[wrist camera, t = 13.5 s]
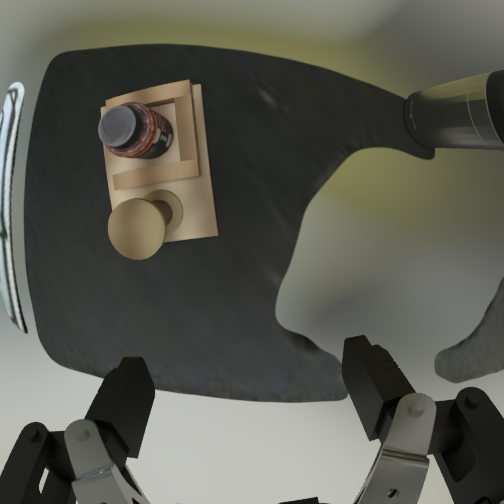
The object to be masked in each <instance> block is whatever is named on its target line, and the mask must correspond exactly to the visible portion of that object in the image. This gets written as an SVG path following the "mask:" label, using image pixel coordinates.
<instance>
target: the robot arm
mask: <svg viewBox="0 0 504 504" xmlns="http://www.w3.org/2000/svg"><path fill="white" fill-rule="evenodd" d="M404 118H405V123H406V126H407V128H408V130H409V132H410V134H411V135H412V137H413V138H414V139H415V140H416V141H417V142H418V143H419V144H421V145H422V146H424V147H427V148H460V149H461V148H462V149H483V150H499V151H504V70H500V71H495V72H491V73H486V74H482V75H477V76H473V77H469V78H464V79H460V80H456V81H453V82H449V83H445V84H441V85H438V86H434V87H431V88H427V89H424V90H421V91H418V92H415V93H412V94H411V95H410V96H409V97H408V98H407V100H406V102H405V106H404ZM342 377H343V381H344V383H345V386H346V388H347V390H348V392H349V395H350V397H351V399H352V402H353V404H354V406H355V409H356V411H357V413H358V415H359V418H360V420H361V423H362V425H363V427H364V430H365V432H366V434H367V437H368V439H369V441H372V440H375V439H379V440H380V442H381V446H380V448H379V451H378V453H377V456H376V458H375V461H374V463H373V465H372V467H371V469H370V472H369V474H368V476H367V478H366V480H365V482H364V484H363V486H362V488H361V490H360V492H359V494H358V495H357V497H356V499H355V501H354V503H353V504H417V502H418V499H419V497H420V493H421V491H422V488H423V484H424V481H425V478H426V474H427V471H428V467H429V459H428V458H427V455H430V454H433V455H434V457H435V459H436V462H437V464H438V466H439V468H440V471H441V473H442V475H443V477H444V480H445V482H446V485H447V487H448V489H449V492H450V494H451V496H452V499H453V501H454V504H504V418H503V417H502V415H501V414H500V412H499V411H498V410H497V408H496V407H495V405H494V404H493V403H492V401H491V400H490V398H489V397H488V396H487V394H486V393H485V392H484V391H483V390H481V389H479V388H476V387H467V388H464V389H462V390H461V391H460V392H459V393H458V395H457V397H456V399H453V400H446V401H433V399H432V398H430V397H429V396H427V395H425V394H422V393H416V392H415V390H414V389H413V387H412V386H411V384H410V383H409V381H408V380H407V378H406V377H405V376H404V374H403V373H402V371H401V370H400V368H398V365H397V364H396V362H395V361H393V358H392V357H391V355H390V354H389V352H388V351H387V350H385V349H384V348H382V347H380V346H379V345H373V346H372V345H371V344H370V343H369V341H368V339H367V338H366V336H365V335H360V336H355V337H350V338H346V339H345V341H344V350H343V359H342ZM154 398H155V387H154V383H153V381H152V378H151V376H150V373H149V371H148V368H147V366H146V363H145V361H144V359H143V358H142V357H124V358H123V359H122V361H121V363H120V365H119V367H118V368H114V369H113V370H112V371H110V372H109V373H108V374H107V375H106V376H105V378H104V380H103V382H102V385H101V386H100V388H99V390H98V394H96V396H95V398H94V400H93V402H92V404H91V406H90V408H89V410H88V412H87V414H86V416H85V418H84V419H81V420H77V421H74V422H72V423H71V424H70V425H69V426H68V427H67V428H66V430H65V431H54V432H53V431H52V432H49V430H47V428H46V427H45V426H44V425H43V424H42V423H39V422H33V423H30V424H28V425H26V426H25V427H24V428H23V430H22V431H21V433H20V435H19V437H18V439H17V441H16V443H15V445H14V447H13V449H12V452H11V453H10V456H9V458H8V460H7V462H6V464H5V467H4V469H3V471H2V474H1V476H0V504H75V503H76V500H77V501H78V504H150V502H149V501H148V500H147V499H146V497H145V495H144V494H143V492H142V491H141V489H140V487H139V486H138V484H137V482H136V481H135V479H134V477H133V475H132V474H131V472H130V470H129V468H128V466H127V465H126V459H127V457H130V458H138V455H139V450H140V447H141V444H142V440H143V436H144V433H145V429H146V425H147V422H148V419H149V415H150V412H151V408H152V405H153V402H154ZM45 468H46V469H47V470H49V473H48V476H47V478H46V481H45V484H44V487H43V490H42V493H40V491H39V483H40V480H41V477H42V475H43V472H44V469H45ZM279 504H327V503H319V501H318V497H314V498H308V499H302V500H296V501H289V502H282V503H279Z"/></svg>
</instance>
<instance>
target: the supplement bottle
mask: <svg viewBox="0 0 504 504" xmlns="http://www.w3.org/2000/svg"><path fill="white" fill-rule="evenodd" d="M98 132H99V137H100V139H101V140H102V142H103V143H104V144H105V146H106V148H107V149H108V150H109V151H110V152H111V153H112V154H114V155H116V156H118V157H124V158H136V159H137V158H138V159H153V158H157V157H159V156H161V155H162V154H164V153H165V152H166V151H167V150H168V148H169V147H170V145H171V143H172V139H173V129H172V126H171V124H170V122H169V121H168V120H167V119H166V118H165V117H164V116H162V115H160V114H159V113H157V112H156V111H154V110H152V109H151V108H149V107H148V106H146V105H144V104H142V103H139V102H126V103H123V104H121V105H118V106H114V107H112V108H110V109H109V110H108V111H107V112H105V114H104V115H103V116H102V118H101V120H100V123H99V128H98Z"/></svg>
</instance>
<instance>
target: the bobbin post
mask: <svg viewBox="0 0 504 504" xmlns="http://www.w3.org/2000/svg"><path fill="white" fill-rule="evenodd" d="M182 219H183V206H182V203H181V201H180V200H179V198H178V197H177V196H176V195H175V194H174V193H172V192H170V191H167V190H161V189H160V190H155V191H152V192H150V193H148V194H146V195H145V196H144V197H143V198H133V199H129V200H126V201H124V202H122V203H120V204H119V205H118V206H117V207H116V208H115V209H114V210H113V212H112V213H111V215H110V218H109V222H108V233H109V237H110V240H111V242H112V244H113V246H114V247H115V249H116V250H117V251H118V252H119V253H120V254H122V255H123V256H125V257H127V258H130V259H134V260H142V259H146V258H148V257H150V256H152V255H153V254H155V253H156V252H157V251H158V249H159V248H160V247H161V246H162V244H163V242H164V240H165V237H166V236H167V235H170V234H172V233H173V232H174V231H175V230H176V229H177V228H178V227H179V226H180V224H181V222H182Z"/></svg>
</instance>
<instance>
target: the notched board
mask: <svg viewBox="0 0 504 504" xmlns="http://www.w3.org/2000/svg"><path fill="white" fill-rule="evenodd" d="M126 102H139V103H142V104H144V105H146V106H148V107H149V108H151V109H152V110H154V111H156V112H157V113H159V114H160V115H162V116H164V117H165V118H166V119H167V120H168V121H169V122H170V124H171V126H172V129H173V139H172V143H171V145H170V147H169V148H168V150H167V151H166V152H165V153H164V154H162V155H161V156H159V157H157V158H153V159H138V158H137V159H136V158H124V157H118V156H116V155H114V154H112V153H111V152H110V151H109V150H108V149H107V148H106V146H105V144H104V143H103V144H104V154H105V163H106V171H107V179H108V186H109V192H110V198H111V204H112V210H114V209H115V208H116V207H117V206H118V205H119V204H120V203H122V202H124V201H126V200H129V199H133V198H143V197H144V196H145V195H146V194H148V193H150V192H152V191H155V190H160V189H161V190H167V191H170V192H172V193H174V194H175V195H176V196H177V197H178V198H179V200H180V201H181V203H182V206H183V219H182V222H181V224H180V226H179V227H178V228H177V229H176V230H175V231H174V232H173V233H172V234H170V235H167V236H166V237H165V240H164V242H170V241H178V240H186V239H194V238H202V237H210V236H218V226H217V219H216V211H215V204H214V196H213V188H212V180H211V172H210V163H209V155H208V146H207V137H206V128H205V118H204V108H203V98H202V87H201V84H197V85H192V83H191V82H190V80H185V81H180V82H175V83H170V84H165V85H160V86H156V87H152V88H148V89H144V90H140V91H136V92H132V93H129V94H125V95H122V96H118V97H115V98H112V99H109V100H106V106H105V107H102V108H101V118H102V116H103V115H104V114H105V112H107V111H108V110H109V109H110V108H112V107H114V106H118V105H121V104H123V103H126Z"/></svg>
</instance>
